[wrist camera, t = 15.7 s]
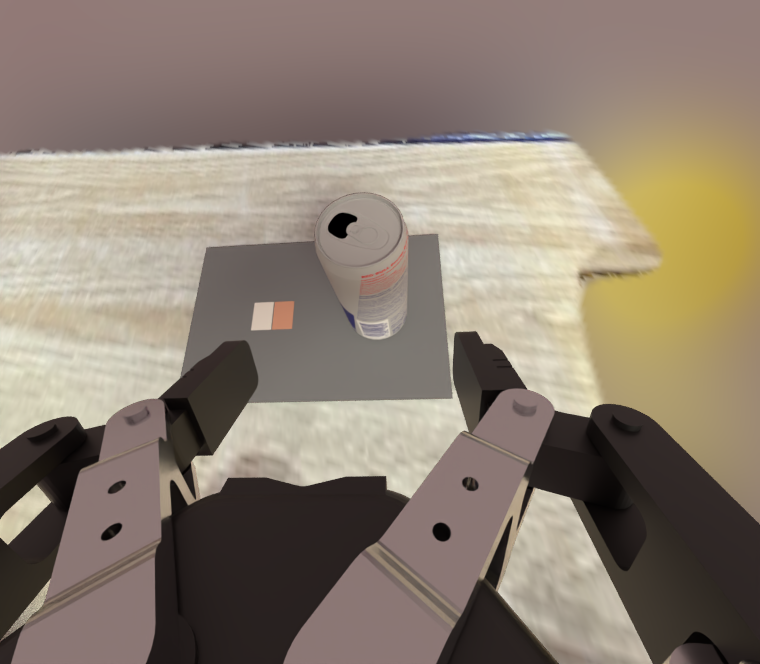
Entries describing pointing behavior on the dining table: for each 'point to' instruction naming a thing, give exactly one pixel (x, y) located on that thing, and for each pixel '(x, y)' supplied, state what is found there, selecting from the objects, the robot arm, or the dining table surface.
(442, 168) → the dining table surface
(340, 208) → the energy drink
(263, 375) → the mat
